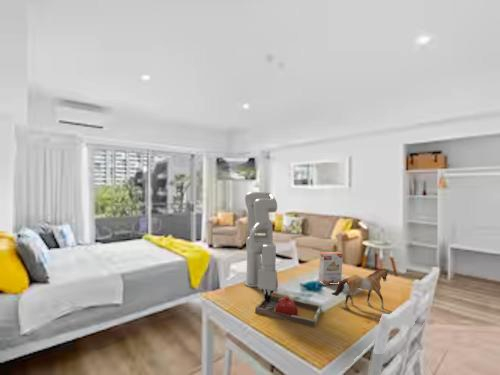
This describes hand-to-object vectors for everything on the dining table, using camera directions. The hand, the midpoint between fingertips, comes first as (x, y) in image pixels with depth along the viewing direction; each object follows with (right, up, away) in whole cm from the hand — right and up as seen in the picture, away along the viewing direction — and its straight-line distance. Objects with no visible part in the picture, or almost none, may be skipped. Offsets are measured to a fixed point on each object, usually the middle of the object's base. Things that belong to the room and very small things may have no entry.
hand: (267, 301), depth 145 cm
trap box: (+11, -4, -4) cm, 12 cm away
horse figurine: (+51, -5, +7) cm, 52 cm away
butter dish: (+9, -4, -5) cm, 11 cm away
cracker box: (+44, -4, +36) cm, 57 cm away
